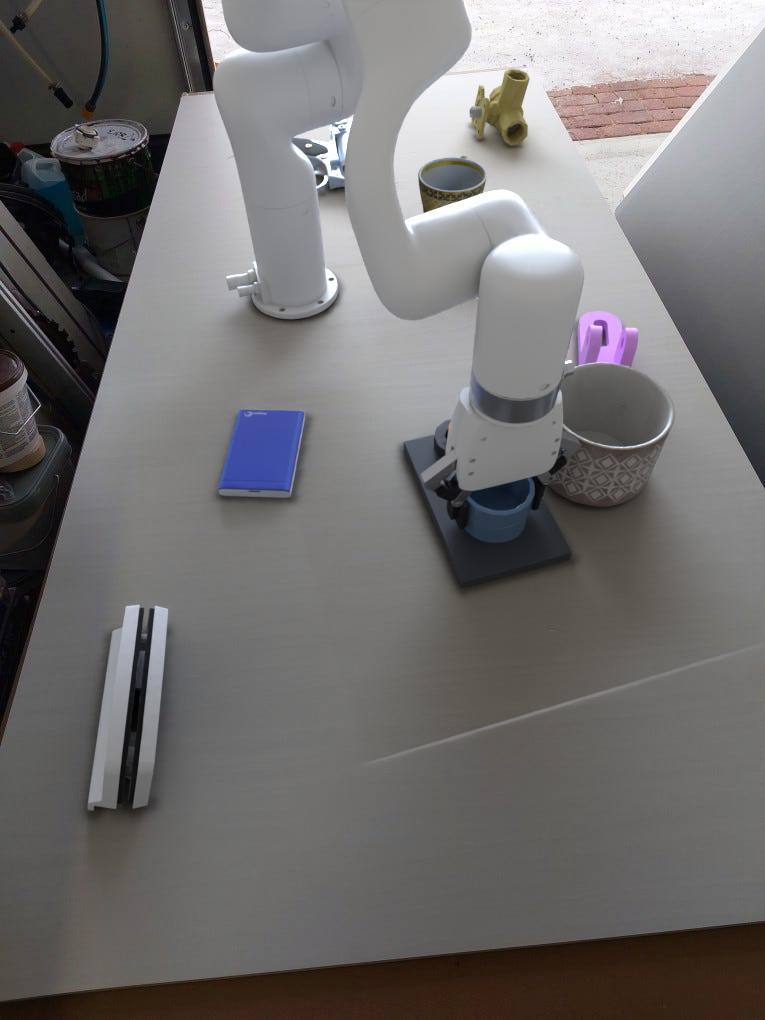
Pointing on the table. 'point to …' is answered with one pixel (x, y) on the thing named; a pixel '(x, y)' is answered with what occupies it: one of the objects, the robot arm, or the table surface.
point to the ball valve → (503, 108)
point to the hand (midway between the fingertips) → (493, 508)
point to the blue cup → (500, 511)
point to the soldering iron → (328, 155)
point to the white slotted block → (130, 710)
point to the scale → (476, 556)
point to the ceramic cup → (450, 181)
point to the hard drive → (263, 454)
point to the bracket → (617, 340)
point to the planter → (612, 432)
